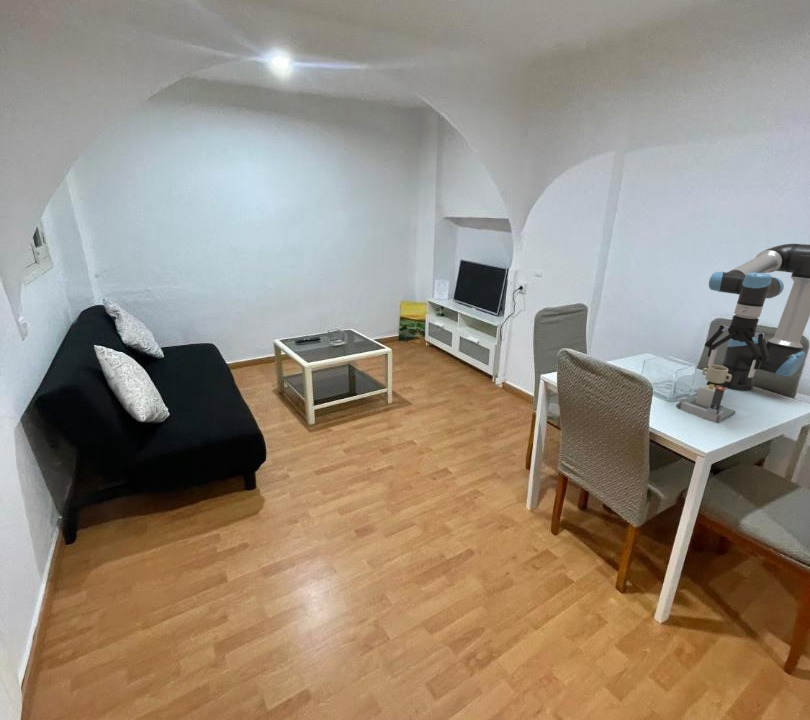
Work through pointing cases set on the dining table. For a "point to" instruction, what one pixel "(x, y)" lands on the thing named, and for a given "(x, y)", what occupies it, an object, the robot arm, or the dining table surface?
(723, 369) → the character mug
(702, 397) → the housing
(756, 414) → the dining table surface
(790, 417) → the dining table surface
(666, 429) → the dining table surface
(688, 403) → the base plate
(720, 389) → the lever
